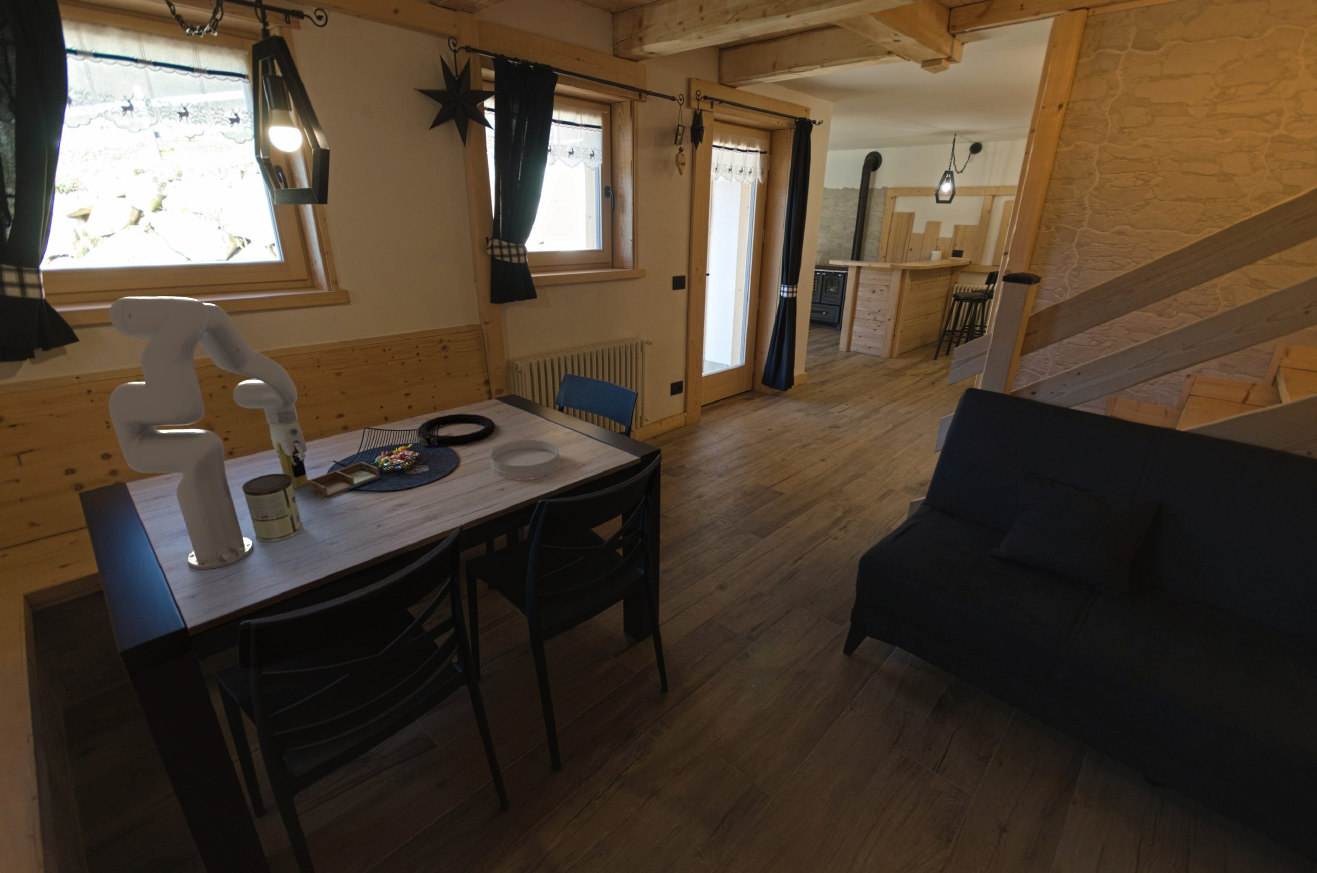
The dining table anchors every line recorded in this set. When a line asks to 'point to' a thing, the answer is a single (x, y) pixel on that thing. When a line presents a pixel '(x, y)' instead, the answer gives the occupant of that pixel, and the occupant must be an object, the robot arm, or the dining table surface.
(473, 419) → the cable lock
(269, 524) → the coffee can
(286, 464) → the vase
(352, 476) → the wooden compartment tray
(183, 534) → the dining table surface
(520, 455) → the dish
